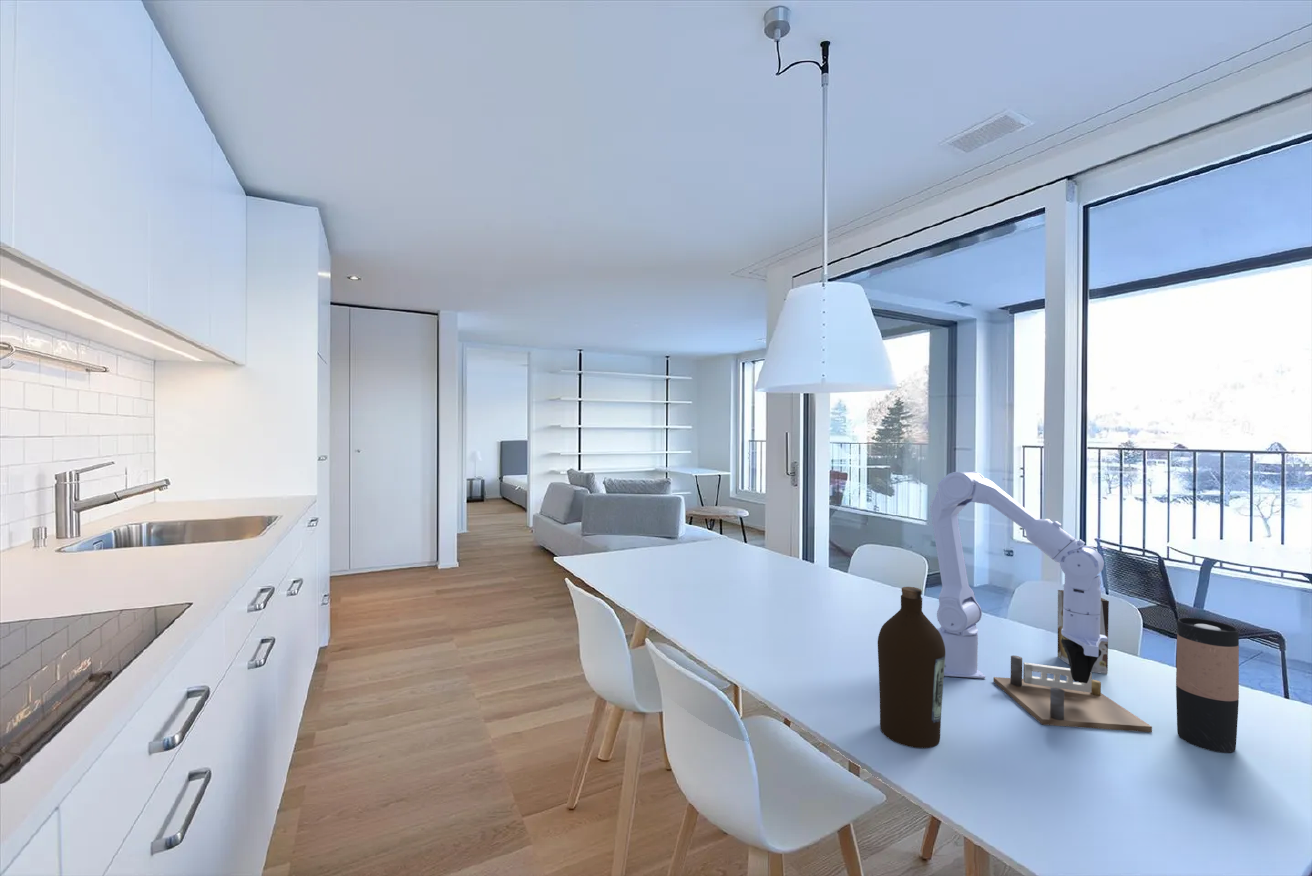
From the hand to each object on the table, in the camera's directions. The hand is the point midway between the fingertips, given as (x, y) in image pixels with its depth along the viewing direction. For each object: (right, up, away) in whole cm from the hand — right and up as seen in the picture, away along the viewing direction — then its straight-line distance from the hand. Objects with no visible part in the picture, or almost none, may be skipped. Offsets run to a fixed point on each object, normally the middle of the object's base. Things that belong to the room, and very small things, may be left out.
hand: (1079, 681), depth 108 cm
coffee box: (+16, -6, +21) cm, 27 cm away
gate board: (-2, -5, +1) cm, 5 cm away
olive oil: (-38, -4, -12) cm, 40 cm away
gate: (-1, -3, +5) cm, 6 cm away
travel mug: (+12, -5, -12) cm, 18 cm away
